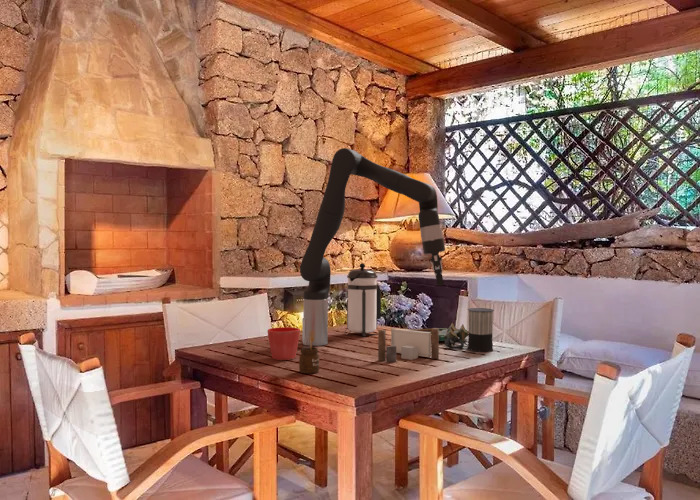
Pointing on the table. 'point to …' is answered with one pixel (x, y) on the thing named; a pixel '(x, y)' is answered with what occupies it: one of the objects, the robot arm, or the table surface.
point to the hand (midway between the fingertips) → (440, 285)
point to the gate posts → (390, 351)
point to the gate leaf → (412, 340)
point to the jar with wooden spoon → (309, 358)
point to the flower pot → (283, 342)
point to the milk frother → (477, 331)
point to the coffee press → (363, 301)
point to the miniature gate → (448, 332)
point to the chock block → (409, 352)
